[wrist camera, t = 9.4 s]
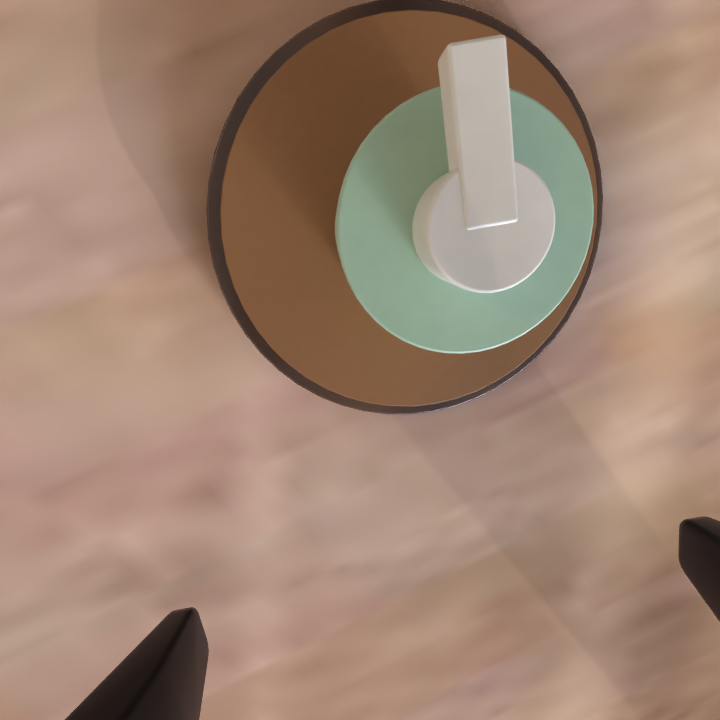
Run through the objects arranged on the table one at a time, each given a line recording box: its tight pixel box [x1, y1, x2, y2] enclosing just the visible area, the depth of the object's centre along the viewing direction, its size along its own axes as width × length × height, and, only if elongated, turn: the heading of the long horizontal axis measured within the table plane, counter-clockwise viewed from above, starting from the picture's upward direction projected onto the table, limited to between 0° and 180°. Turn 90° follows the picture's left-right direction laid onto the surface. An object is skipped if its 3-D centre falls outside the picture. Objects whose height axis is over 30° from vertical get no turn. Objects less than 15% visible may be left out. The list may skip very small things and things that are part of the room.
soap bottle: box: [220, 10, 597, 406], centre depth 13 cm, size 14×14×9 cm
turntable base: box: [207, 0, 603, 414], centre depth 18 cm, size 15×15×1 cm
